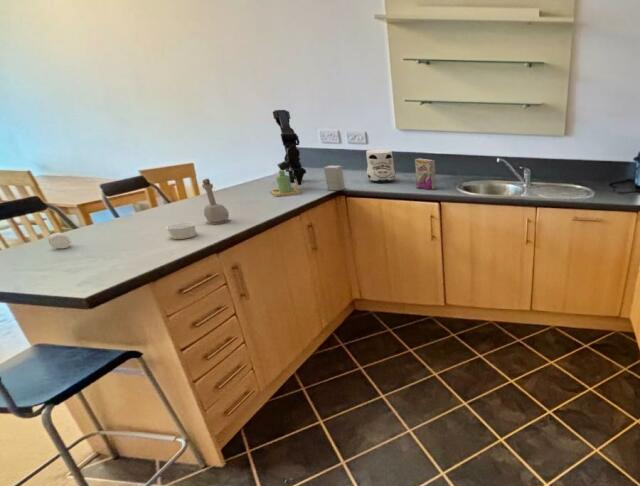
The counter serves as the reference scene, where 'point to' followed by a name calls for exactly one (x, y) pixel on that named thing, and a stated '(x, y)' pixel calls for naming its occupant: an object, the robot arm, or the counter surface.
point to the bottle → (283, 182)
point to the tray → (277, 193)
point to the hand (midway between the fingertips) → (298, 184)
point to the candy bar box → (425, 174)
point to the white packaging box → (334, 177)
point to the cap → (297, 182)
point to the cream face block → (380, 166)
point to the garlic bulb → (59, 240)
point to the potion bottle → (214, 206)
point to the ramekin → (182, 230)
